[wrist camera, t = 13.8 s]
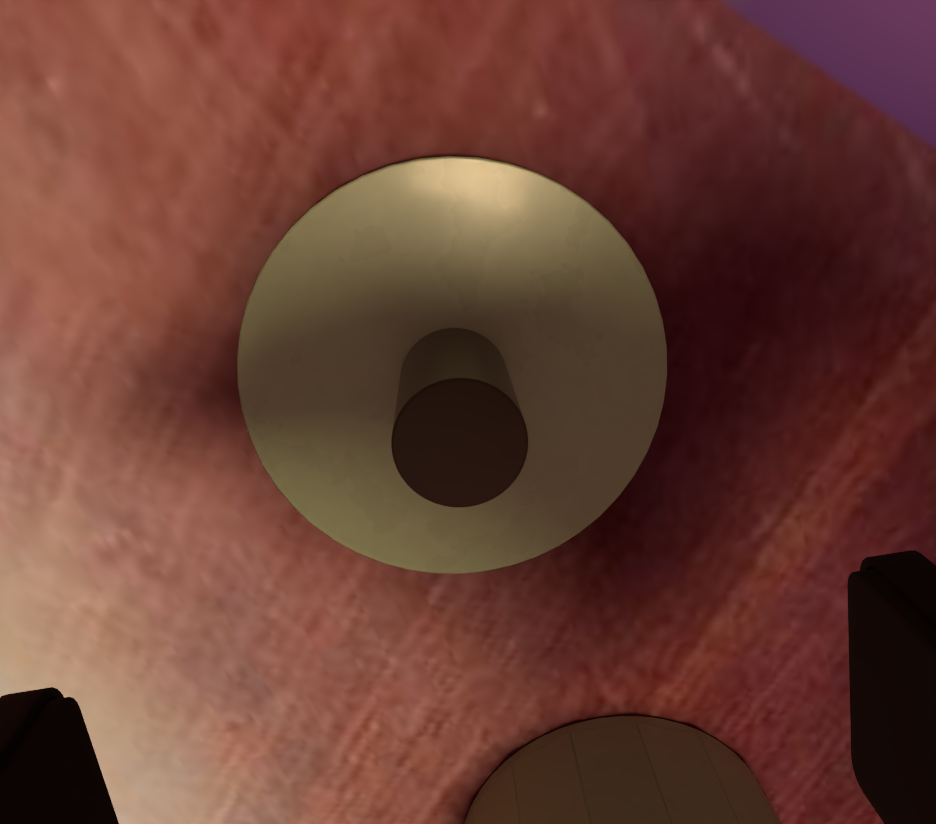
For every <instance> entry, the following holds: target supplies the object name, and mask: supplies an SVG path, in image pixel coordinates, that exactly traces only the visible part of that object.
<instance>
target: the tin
mask: <svg viewBox="0 0 936 824" xmlns="http://www.w3.org/2000/svg"><path fill="white" fill-rule="evenodd" d="M464 824H781V822H780V820H779V818H778V816H777V814H776V812H775V810H774V808H773V807H772V805H771V803H770V802H769V800H768V799H767V797H766V795H765V794H764V792H763V790H762V788H761V786H760V785H759V783H758V781H757V779H756V777H755V776H754V775H753V773H752V772H751V771H750V769H749V768H748V766H747V765H746V764H745V763H744V762H743V761H742V760H741V759H740V758H739V757H738V756H737V755H736V754H735V753H734V752H733V751H731V750H730V749H729V748H728V747H726V746H725V745H724V744H722V743H721V742H720V741H718V740H716V739H714V738H713V737H711V736H709V735H707V734H705V733H704V732H702V731H699V730H697V729H694V728H692V727H689V726H687V725H684V724H681V723H677V722H673V721H669V720H665V719H659V718H652V717H644V716H615V717H604V718H597V719H592V720H588V721H583V722H578V723H575V724H572V725H569V726H566V727H563V728H560V729H557V730H555V731H553V732H551V733H549V734H546V735H544V736H542V737H540V738H538V739H536V740H535V741H533V742H531V743H530V744H528V745H526V746H525V747H523V748H522V749H520V750H519V751H518V752H516V753H515V754H514V755H513V756H511V757H510V758H509V759H507V760H506V761H505V762H504V763H503V764H502V765H501V766H500V767H499V768H498V769H497V770H496V771H495V772H494V773H493V774H492V775H491V776H490V778H489V779H488V780H487V782H486V783H485V784H484V786H483V787H482V788H481V789H480V791H479V793H478V795H477V796H476V798H475V800H474V802H473V803H472V805H471V807H470V810H469V812H468V815H467V817H466V820H465V823H464Z"/></svg>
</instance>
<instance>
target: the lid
mask: <svg viewBox="0 0 936 824" xmlns="http://www.w3.org/2000/svg"><path fill="white" fill-rule="evenodd" d="M237 374H238V390H239V396H240V402H241V408H242V413H243V416H244V420H245V423H246V426H247V429H248V433H249V436H250V439H251V441H252V443H253V445H254V448H255V450H256V452H257V454H258V456H259V458H260V461H261V463H262V464H263V466H264V468H265V469H266V471H267V472H268V474H269V475H270V477H271V479H272V480H273V482H274V483H275V485H276V486H277V488H278V489H279V490H280V491H281V492H282V494H283V495H284V496H285V497H286V498H287V500H288V501H289V502H290V503H291V504H292V506H293V507H294V508H295V509H296V510H298V511H299V512H300V513H301V514H302V515H303V516H304V517H305V518H306V519H307V520H308V521H309V522H310V523H311V524H313V525H314V526H315V527H317V528H318V529H319V530H321V531H322V532H324V533H325V534H326V535H328V536H329V537H330V538H332V539H333V540H335V541H337V542H338V543H340V544H342V545H344V546H346V547H347V548H349V549H351V550H353V551H355V552H357V553H359V554H361V555H364V556H366V557H369V558H371V559H374V560H376V561H379V562H381V563H385V564H389V565H392V566H396V567H400V568H403V569H408V570H415V571H421V572H428V573H448V574H461V573H472V572H483V571H489V570H493V569H498V568H503V567H507V566H511V565H514V564H517V563H520V562H523V561H526V560H529V559H532V558H535V557H537V556H539V555H541V554H543V553H545V552H547V551H549V550H551V549H554V548H556V547H558V546H559V545H561V544H563V543H564V542H566V541H567V540H569V539H570V538H572V537H574V536H575V535H577V534H578V533H580V532H581V531H582V530H584V529H585V528H586V527H587V526H589V525H590V524H591V523H592V522H593V521H595V520H596V519H597V518H598V517H599V516H601V515H602V514H603V513H604V511H605V510H606V509H607V508H608V507H609V506H610V505H611V504H612V503H613V502H614V501H615V500H616V499H617V498H618V497H619V495H620V494H621V493H622V491H623V490H624V489H625V487H626V486H627V485H628V483H629V482H630V480H631V479H632V478H633V476H634V475H635V473H636V472H637V470H638V468H639V466H640V464H641V463H642V461H643V459H644V457H645V455H646V454H647V452H648V449H649V447H650V444H651V442H652V439H653V437H654V434H655V432H656V429H657V427H658V423H659V419H660V415H661V411H662V407H663V403H664V397H665V389H666V380H667V345H666V339H665V332H664V326H663V319H662V316H661V313H660V309H659V306H658V303H657V299H656V296H655V293H654V290H653V288H652V286H651V284H650V282H649V279H648V277H647V275H646V273H645V271H644V268H643V267H642V265H641V263H640V262H639V260H638V259H637V257H636V255H635V254H634V252H633V251H632V249H631V247H630V246H629V244H628V243H627V242H626V241H625V239H624V238H623V237H622V236H621V235H620V233H619V232H618V231H617V230H616V229H615V227H614V226H613V225H612V224H611V223H610V222H609V221H608V220H607V219H606V218H605V217H604V216H603V215H602V214H601V213H599V212H598V211H597V210H596V209H595V208H594V207H593V206H592V205H591V204H589V203H588V202H587V201H586V200H584V199H583V198H581V197H580V196H578V195H577V194H575V193H574V192H572V191H571V190H569V189H568V188H566V187H565V186H563V185H561V184H559V183H557V182H555V181H553V180H551V179H549V178H547V177H545V176H543V175H541V174H539V173H537V172H534V171H531V170H528V169H525V168H522V167H519V166H516V165H513V164H510V163H506V162H500V161H495V160H490V159H485V158H479V157H461V156H442V157H430V158H419V159H415V160H410V161H406V162H401V163H397V164H393V165H389V166H386V167H384V168H381V169H378V170H376V171H373V172H370V173H368V174H365V175H362V176H360V177H358V178H357V179H355V180H353V181H351V182H349V183H347V184H345V185H344V186H342V187H340V188H338V189H336V190H335V191H333V192H332V193H330V194H329V195H328V196H326V197H325V198H324V199H322V200H321V201H320V202H318V203H317V204H315V205H314V206H313V207H311V208H310V209H309V210H308V211H307V212H306V213H305V214H304V215H303V216H302V217H301V218H300V219H299V220H298V221H297V222H296V223H295V224H294V225H293V226H292V227H291V228H290V229H289V230H288V231H287V233H286V234H285V235H284V237H283V238H282V239H281V240H280V242H279V243H278V244H277V246H276V247H275V248H274V249H273V251H272V252H271V254H270V256H269V257H268V259H267V261H266V263H265V264H264V266H263V268H262V270H261V271H260V273H259V275H258V277H257V279H256V282H255V284H254V286H253V289H252V291H251V294H250V296H249V299H248V301H247V304H246V308H245V312H244V316H243V320H242V324H241V328H240V335H239V344H238V354H237Z"/></svg>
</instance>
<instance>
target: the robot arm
mask: <svg viewBox="0 0 936 824" xmlns="http://www.w3.org/2000/svg"><path fill="white" fill-rule="evenodd" d="M848 625H849V670H850V716H851V757H852V764H853V769H854V772H855V776H856V779H857V781H858V783H859V786H860V787H861V789H862V791H863V793H864V794H865V796H866V797H867V799H868V800H869V801H870V803H871V804H872V806H873V807H874V809H875V810H876V812H877V813H878V815H879V816H880V818H881V819H882V821H883V822H884V824H936V566H935V565H934V564H933V563H932V562H931V561H929V560H928V559H927V558H926V557H924V556H923V555H922V554H921V553H919V552H917V551H905V552H898V553H892V554H886V555H879V556H873V557H867V558H865V559H864V560H863V561H862V564H861V567H860V571H857V572H852V573H851V574H850V575H849V578H848ZM0 824H119V823H118V820H117V817H116V814H115V811H114V808H113V805H112V802H111V799H110V796H109V793H108V790H107V787H106V784H105V781H104V778H103V776H102V773H101V770H100V767H99V764H98V761H97V758H96V755H95V752H94V749H93V746H92V743H91V740H90V737H89V734H88V731H87V728H86V725H85V722H84V719H83V716H82V713H81V710H80V708H79V705H78V703H77V702H76V701H75V699H74V698H71V697H67V698H64V697H63V695H62V693H61V692H60V691H59V690H58V689H55V688H53V687H51V688H45V689H39V690H33V691H26V692H20V693H14V694H8V695H4V696H2V697H1V698H0Z"/></svg>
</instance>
